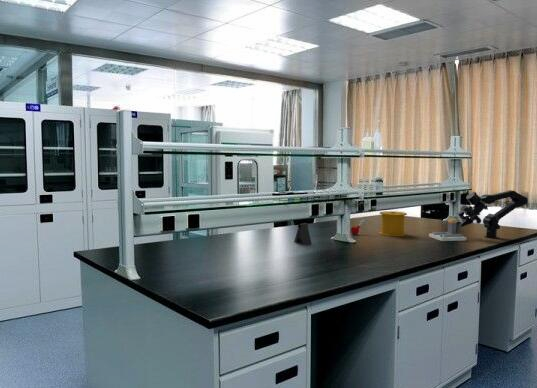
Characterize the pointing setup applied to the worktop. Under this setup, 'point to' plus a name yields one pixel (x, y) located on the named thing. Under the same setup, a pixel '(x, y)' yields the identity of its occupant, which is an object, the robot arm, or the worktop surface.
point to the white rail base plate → (447, 236)
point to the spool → (392, 223)
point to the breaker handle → (451, 226)
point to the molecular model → (356, 229)
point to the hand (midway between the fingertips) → (460, 226)
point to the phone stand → (303, 234)
